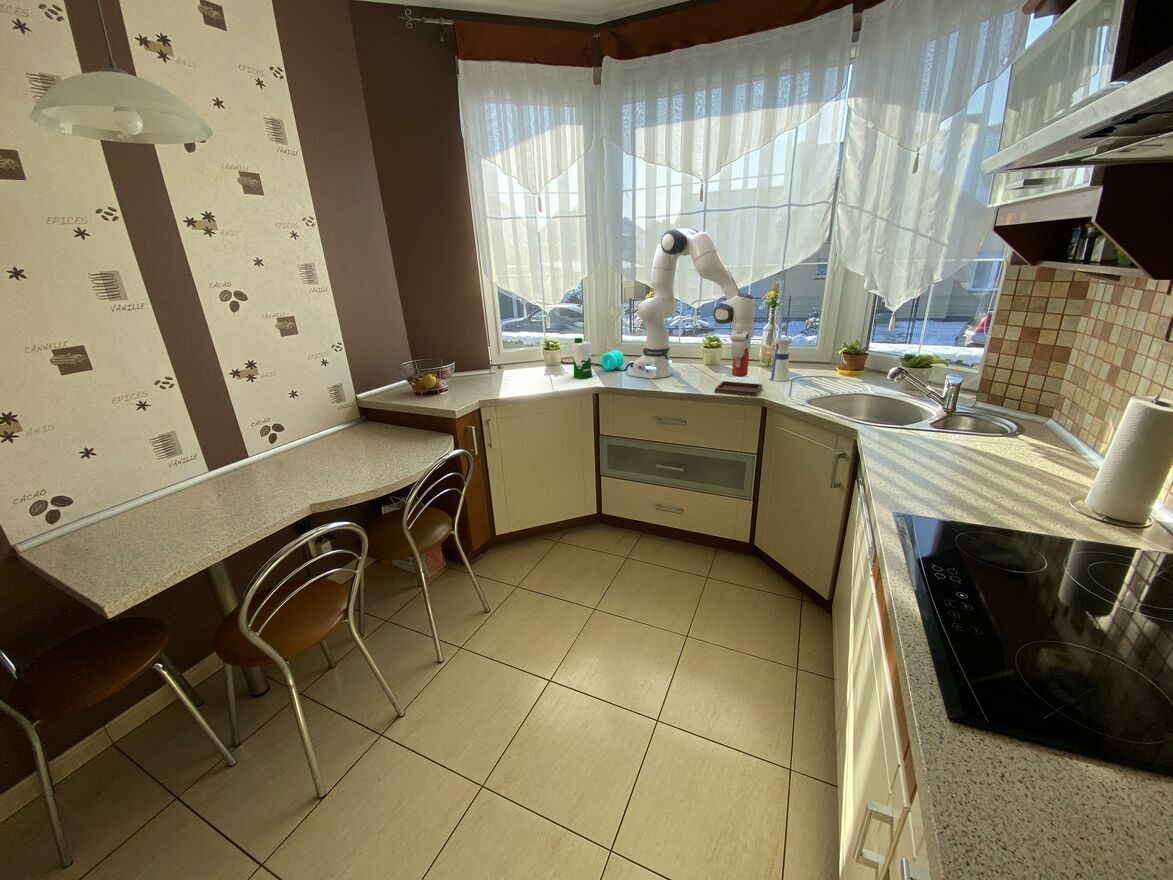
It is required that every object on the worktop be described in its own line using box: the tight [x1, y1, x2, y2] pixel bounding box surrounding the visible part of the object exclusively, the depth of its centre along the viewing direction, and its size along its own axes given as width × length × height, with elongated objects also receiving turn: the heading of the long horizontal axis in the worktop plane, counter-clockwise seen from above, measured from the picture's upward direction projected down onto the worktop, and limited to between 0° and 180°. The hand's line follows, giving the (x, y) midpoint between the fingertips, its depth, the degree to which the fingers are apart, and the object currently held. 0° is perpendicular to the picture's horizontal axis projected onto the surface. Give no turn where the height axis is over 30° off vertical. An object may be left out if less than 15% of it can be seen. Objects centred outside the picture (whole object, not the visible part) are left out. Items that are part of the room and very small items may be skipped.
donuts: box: [600, 349, 625, 372], centre depth 263 cm, size 10×10×10 cm
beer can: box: [731, 348, 750, 378], centre depth 209 cm, size 7×7×12 cm
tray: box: [714, 380, 763, 398], centre depth 213 cm, size 18×14×2 cm
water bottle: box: [770, 325, 793, 382], centre depth 224 cm, size 8×9×25 cm
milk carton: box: [570, 337, 593, 380], centre depth 247 cm, size 9×9×20 cm
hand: (740, 365), depth 210 cm, fingers closed on beer can, 6 cm apart
